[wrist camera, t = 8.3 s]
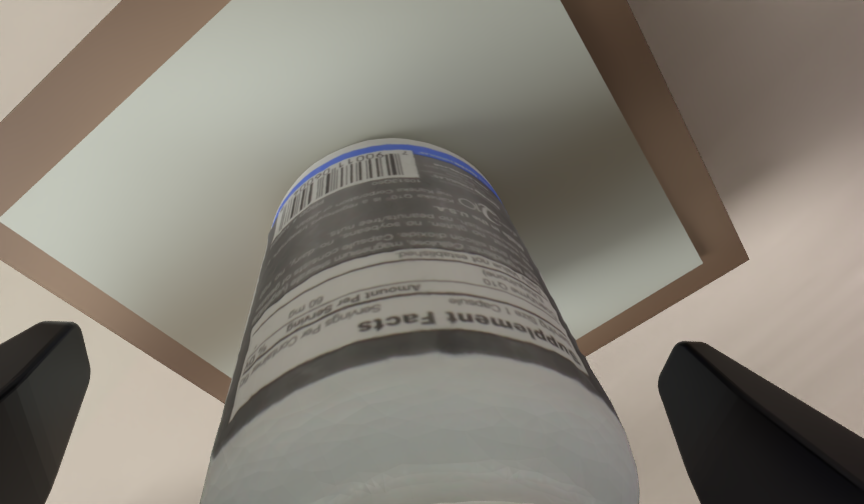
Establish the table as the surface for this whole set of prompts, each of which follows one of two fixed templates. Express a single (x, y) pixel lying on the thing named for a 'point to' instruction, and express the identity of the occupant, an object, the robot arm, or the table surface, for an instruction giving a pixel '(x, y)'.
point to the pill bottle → (409, 352)
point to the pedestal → (338, 128)
